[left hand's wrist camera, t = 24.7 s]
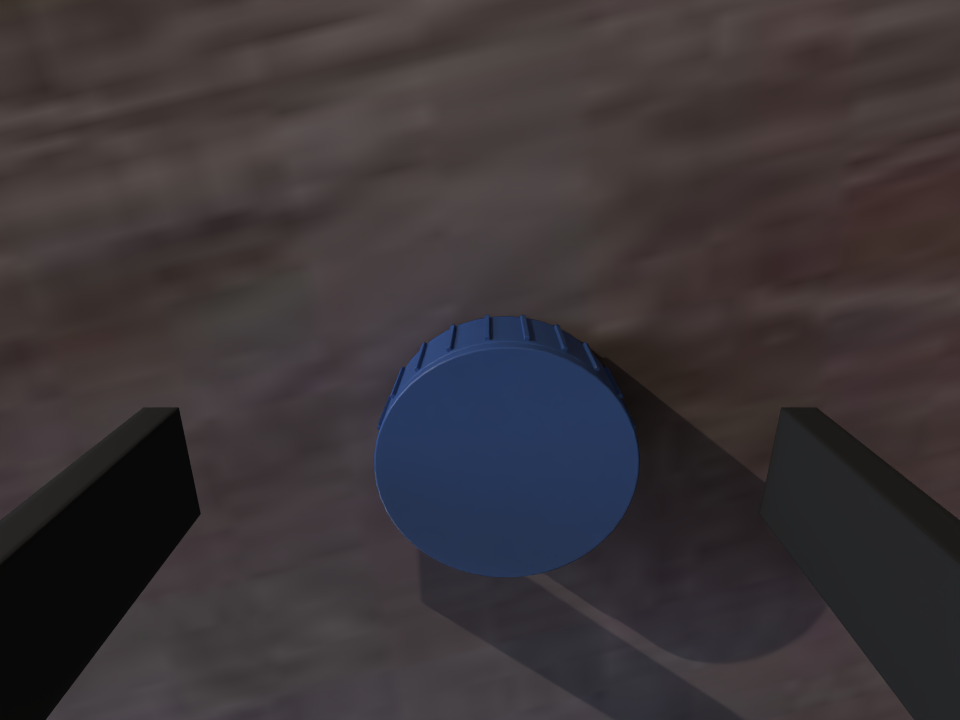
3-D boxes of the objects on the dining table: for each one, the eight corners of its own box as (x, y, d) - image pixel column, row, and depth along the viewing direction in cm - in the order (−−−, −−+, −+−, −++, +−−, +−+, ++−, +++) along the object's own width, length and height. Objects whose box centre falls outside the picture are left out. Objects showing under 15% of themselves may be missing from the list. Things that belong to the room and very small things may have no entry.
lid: (417, 283, 13) (404, 309, 11) (657, 350, 14) (687, 388, 11) (365, 491, 15) (345, 546, 13) (575, 543, 16) (589, 604, 13)
